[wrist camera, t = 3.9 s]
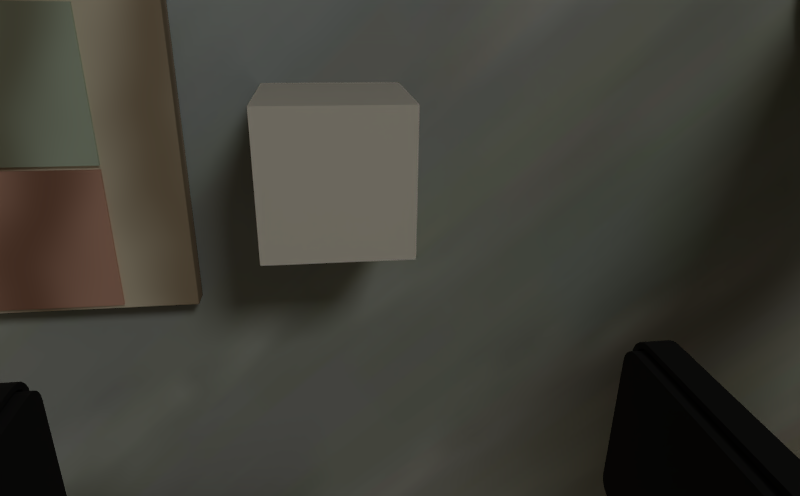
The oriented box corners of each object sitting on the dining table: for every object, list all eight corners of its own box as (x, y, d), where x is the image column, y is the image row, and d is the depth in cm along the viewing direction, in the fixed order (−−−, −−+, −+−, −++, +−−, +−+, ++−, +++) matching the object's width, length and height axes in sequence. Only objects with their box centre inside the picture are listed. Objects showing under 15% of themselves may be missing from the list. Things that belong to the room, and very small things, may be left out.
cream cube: (398, 81, 27) (419, 104, 22) (396, 209, 30) (416, 259, 24) (260, 82, 26) (246, 106, 21) (270, 214, 29) (260, 265, 23)
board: (140, -201, 22) (132, -211, 21) (202, 294, 30) (198, 305, 29) (-264, -222, 20) (-295, -233, 19) (-89, 307, 28) (-105, 319, 27)
